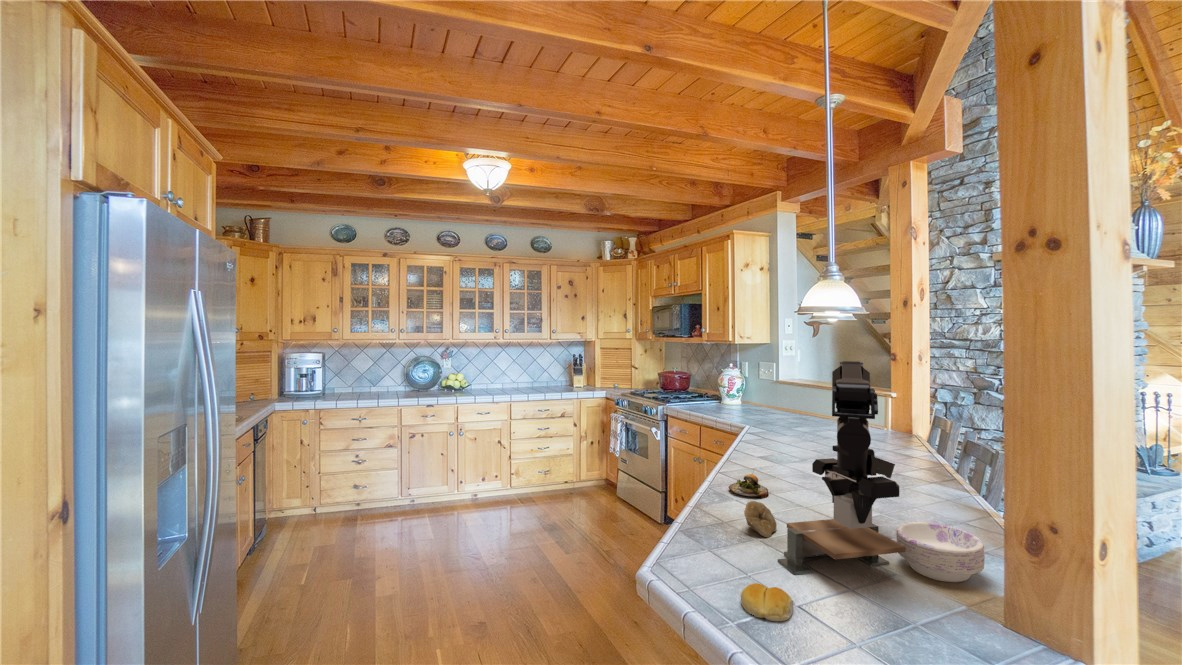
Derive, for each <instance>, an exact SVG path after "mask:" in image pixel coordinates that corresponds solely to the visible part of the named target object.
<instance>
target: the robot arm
mask: <svg viewBox="0 0 1182 665" xmlns="http://www.w3.org/2000/svg"><path fill="white" fill-rule="evenodd" d="M831 374H832V375H831V378H832V379H831V380H832V381H831V389H832V393H831V415H832V416H831V417H835V418H836V417H837V421H836V424H837V427H836V428H837V429H836V440H837V441H836V445H832V452H836V458H833V457H832V458H831V457H830V458H818V459H817V458H816V459H815V460H814V461H813V462H812V464H811V465H812V466H811V467H812V470H811V471H812V473H814V474H816V475H819V476H822V477H821V480H823V481H824V483H825V485H826V486H827V489H828V491H829V493H830V494H831V496H832V500H831V501H832V503H833V504H834V496H840V495H845V494H848V493H851V494H852V498H853V502H854V506H855V510H856V514H857V518H858V521H859V523H860V524H863V523H865V522H866V519H867V517H868V514H869V512H870V510H871V507H872V508H873V505H874V503H875V502H876V500H877V499H888V498H889V499H890V498H899V497H900V485H899V484H898V483H897V482H896V481H895V480H892V475H893V471H894V469H895V466H896V464H895V463H894V462H890V461H887V460H884V459H881V458H879V457H876V456H875V453H876V452H875V451H874V449H873V448H869V447H870V446H871V443H872V437H871V433H870V430H869V421H868V420H876V416H877V415H879V407H878V406H879V405H878V404H879V403H878V393H877V392H876V389H874V388H872V387H871V373H870V372H869V371H868V370H867V369H866V368H865V367H864V362H861V361H856V360H855V361H854V360H843V361H840V362H839V366H838V367H837V368H835V369H834V370H833V371H832V372H831ZM877 474H878V475H882V476H877ZM823 475H824V476H823ZM868 476H871V477H868Z"/></svg>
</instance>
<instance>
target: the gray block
mask: <svg viewBox="0 0 1182 665" xmlns="http://www.w3.org/2000/svg"><path fill="white" fill-rule="evenodd" d="M833 519H834V520H835V521H837V522H839V523H840V524H842V525H844V526H846V527H848V528H849V529H856V528H867V527H872V523H873V506H872V507H871V510H870V512H869V514H868V517H867V519H866V522H865V523H863V524H860V523H859V521H858V518H857V514H856V510H855V506H854V502H853V498H852V494H851V493H848V494H845V495H840V496H834V503H833Z"/></svg>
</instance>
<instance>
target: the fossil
mask: <svg viewBox="0 0 1182 665" xmlns="http://www.w3.org/2000/svg"><path fill="white" fill-rule="evenodd" d="M744 517H745V520H746V524H747V526H748V527H750V528H751V529H752V531H754V532H757V533H758V534H759V535H760V536H762V537H765V538H770V537H772V533H775V531H776V529H777V522H776V519H775V516H774V515H773V514H772V511H771V510H770V509H769V508H768V507H767V506H766V505H765V504H764V503H763V502H761V501H760V502H759V501H756V500H750V501H748V502H747V503H746V505H745V507H744Z"/></svg>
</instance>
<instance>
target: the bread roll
mask: <svg viewBox="0 0 1182 665" xmlns="http://www.w3.org/2000/svg"><path fill="white" fill-rule="evenodd" d="M740 603H741V605H742V607H743V609H744V610H745V611H746V612H747V613H748V614H750V615H751V614H752V615H751V616H753V615H754V616H753V617H755V618H756V617H757V618H760V619H764V618H765V620H767V621H770V622H782V621H788V620H789V619H790V618H791V616H792V615H793V611H794V600H793V599H792V598H791V595H790V594H788V593H787V592H786V591H785V590H784V589H781V588H779V587H777V586H773V587H769V588H768V587H767V586H765V585H764V584H762V583H751V584H748V585H747V586H746V587H744V588H743V590H742V591H741V593H740Z"/></svg>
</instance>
